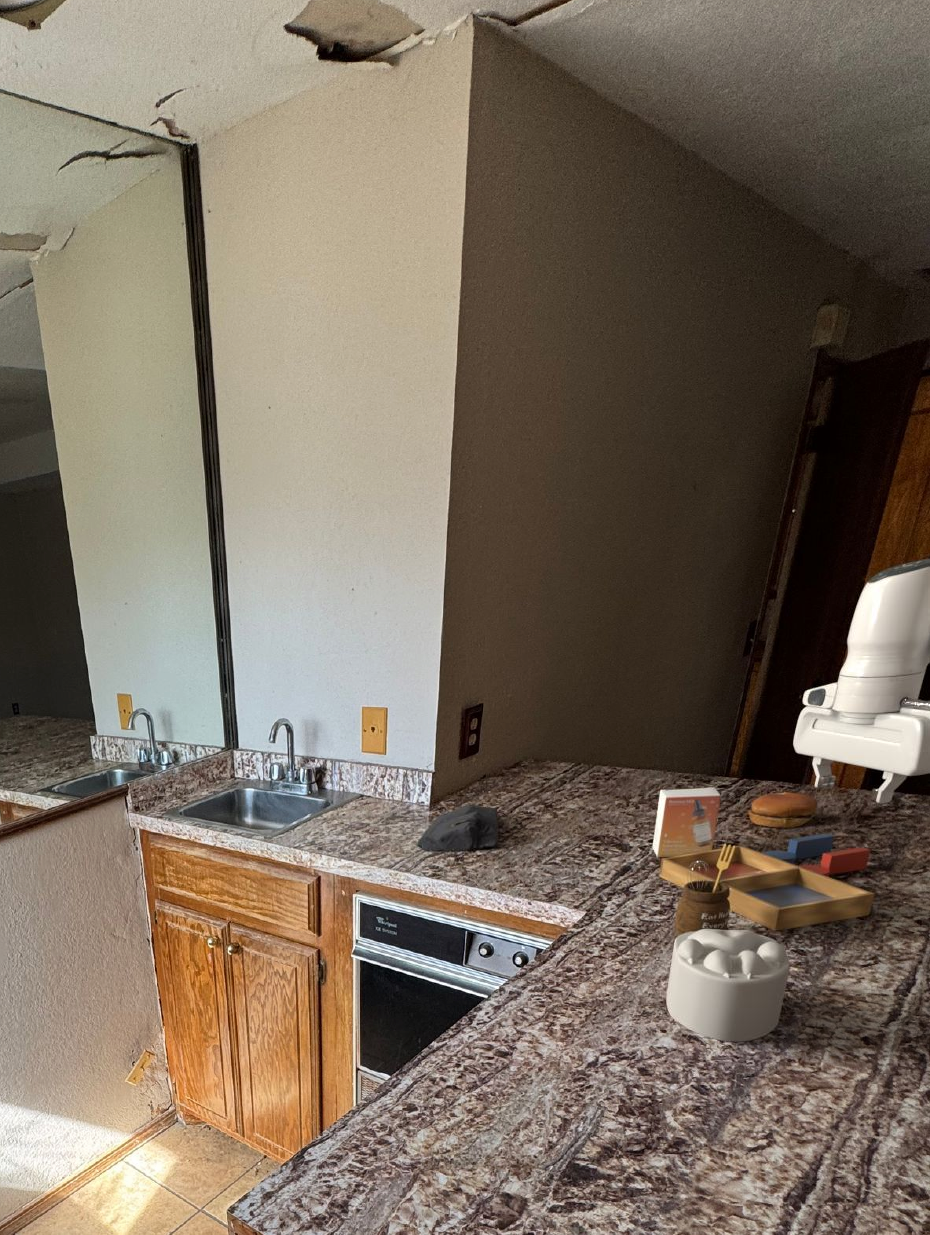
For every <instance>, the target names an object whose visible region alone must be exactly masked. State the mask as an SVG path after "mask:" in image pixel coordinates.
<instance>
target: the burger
mask: <svg viewBox="0 0 930 1235" xmlns="http://www.w3.org/2000/svg"><path fill="white" fill-rule="evenodd" d="M817 808H818V801H817V800H816V798H815V797H813V796H811V795H808V794H802V793H795V792H788V791H784V792H778V791H777V792H772V793H767V794H764V795H760V796H759V797H757V798H756V799H755V800H754V801H753V802H752V804H751V808H750V809H748V811H747V814H748V817H749V819H750V821H751V822H752V823H753V824H755V825H758V826H760V827H761V826H762V827H770V828H777V829H778V828H779V829H783V828H784V829H793V828H798V827H801V826H803V825H804V824H806V823H807V822H809V821H810V820H812V819H813V818H814V817H815V815H816V812H817Z"/></svg>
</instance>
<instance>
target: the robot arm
mask: <svg viewBox="0 0 930 1235" xmlns="http://www.w3.org/2000/svg"><path fill="white" fill-rule="evenodd" d="M847 635H848V636H847V639H846V644H847V655H846V659H845V661H844V663H843V665H842V667H841V669H840V671H839V675H838V679H837V681H836V682H832V683H829V684H824V685H821V686H818V687H813V688H810V689H807V690H805V691H804V693H803V697H802V704H803V705H804V706H805V707H803V709H802V710H801V711H800V714H799V715H798V719H797V722H796V727H795V731H794V734H793V741H792V742H793V743H792V745H793V748H794V751H795V753H797V754H798V755H803V756H809V757H813V758H812V768H813V770H814V774H815V777H816V778H815V782H814V788H815V789H816V788H817V789H820V790H829V789H832V788H834V787H835V782H836V779H837V776H836V775H833V774H832V767H831V766H832V765H831V764H833V763H835V762H837V763H842V764H847V765H848V764H849V765H853V766H857V767H863V768H867V769H872V770H877V771H883V774H882V779H883V780H884V781H883V783H882V784H881V785H880V786H879V788H873V789H872V790H871V796H870V798H869V800H870V801H871V802H872V803H876V804H887V803H890V802H891V801H892V799H893V796H894V792H895V791H896V789H897V788H898V787H899V786H900V785H902V784H903V782H904V781H905V780H906V779H907V777H914V776H915V777H916V776H922V775H927V774H930V700H922V699H919V697H920V691H921V689H922V685H923V680H924V677H925V674H926V670H927V666H928V665H929V664H930V558H924V559H920V560H914V561H909V562H906V563H901V564H898V565H894V566H892V567H888V568H886V569H884V570H882V571H880V572H878V573H876V574H875V575H873V576H872V577H871V578H870V579H869V580H868V581H867V582H866V584H865V585H864V587H863V588H862V591H861V593H860V595H859V599H858V601H857V604H856V607H855V609H854V613H853V617H852V619H851V623H850V626H849V630H848V634H847Z"/></svg>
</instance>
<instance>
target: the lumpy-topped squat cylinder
mask: <svg viewBox="0 0 930 1235" xmlns="http://www.w3.org/2000/svg"><path fill="white" fill-rule="evenodd" d="M670 963H671V964H670V970H669V976H668V982H667V983H668V984H667V990H666V999H665V1000H666V1009H667V1011H668V1014H669V1015H670V1017H671V1018H672V1019H673V1020H674V1021H676V1022H677V1023H679V1024H680V1025H682V1026H683V1027H685V1028H686V1029H688V1030H690V1031H691V1032H694V1033H696V1034H698V1035H701V1036H704V1037H707V1038H709V1039H710V1038H711V1039H714V1040H717V1041H723V1042H733V1043H734V1042H735V1043H737V1042H747V1041H753V1040H757V1039H760V1038H763V1037H765V1036H766V1035H768V1034H770V1033H771V1032H772V1031H773V1030H774V1029H775V1028H776V1027H777V1026H778V1024H779V1020H780V1015H781V1011H782V1007H783V1002H784V997H785V993H786V988H787V984H788V979H789V975H790V969H791V964H790V959H789V956H788V954H787V950H786V948H785V946H783V944H781V943H779V942H778V941H776V940H775V939H774V938H771V937H768V936H765V935H762V934H758V933H756V932H754V931H753V930H749V929H726V930H718V929H702V930H699V931H697V932H688V933H684V934H682V935H680V936H677V937H676V938H675V939H674V943H673V949H672V956H671V962H670Z"/></svg>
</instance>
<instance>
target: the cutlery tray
mask: <svg viewBox="0 0 930 1235" xmlns="http://www.w3.org/2000/svg"><path fill="white" fill-rule="evenodd" d="M735 846H736V848H735V851H734V854H733V857H732V861H731V864H730V867H729V868H728V869H726V870H724V871H723V873H722V876H721V879H720V881H719V882H721V883H724V884H726V885H727V886H728V887H729V890H730V895H729V897H728V898H727V899H728V900H729V902H730V911H731V912H733V913H735V914H738V915H739V916H742V917H744V918H746V919H748V920H750V921H752V922H755V923H756V924H759V925H761V926H763V927H765V928H767V929H770V930H771V931H773V932H776V931H783V930H790V929H796V928H802V927H807V926H813V925H819V924H824V923H830V922H836V921H837V922H838V921H843V920H848V919H854V918H860V917H861V918H862V917H866V916H870V913H871V909H872V905H873V902H874V898H875V893H874V892H871V891H868V890H865V889H863V888H860V887H857V886H854V885H852V884H848V883H847V882H843V881H841V880H838V879H834V878H832V877H830V876H829V877H827V876H824V875H821V874H819V873H816V872H813V871H810V870H807V869H805V868H802V867H799V866H800V865H796V864H794V863H793V864H791V863H788V862H785V861H782V860H780V859H777V858H774V857H771V856H769V855H766V854H763V853H764V852H760V851H757V850H754V849H752V848H749V847H747V846H744V845H735ZM732 848H733V846H731V848H730V852H729V855H728V858H727V862H728V859H729V857H730V854H731V851H732ZM722 849H723V847H722V848H715V849H712V850H710V851H704V852H698V853H692V854H686V855H680V856H675V857H662V858H661V859H660V860H661V861H660V868H659V875H658V877H659V878H661V879H663V880H666V881H667V882H669V883H671V884H674V885H676V886H678V887H680V888H682V889H683V888H684V886H685V884H687V883H688V881H689V882H693V881H699V868H700V881H701V880H706V870H707V881H716V880H717V877H718V874H719V871H720V869H719V868H718V867H717V863H718V860H719V857H720V854H721V852H722ZM727 849H728V847H726V849H725V852H724V855H723V858H722V861H723V860H724V857H725V854H726V851H727ZM694 861H702V862H701V863H700V862H699V863H698V862H695V863H694ZM692 862H693V864H692V865H691V863H692ZM704 862H705V867H706V868H705V867H704V865H703V864H704ZM702 863H703V864H702ZM690 865H691V867H689V866H690ZM694 865H695V866H694ZM708 867H709V870H708ZM688 868H689V869H688ZM692 869H693V870H692ZM704 874H705V877H704ZM708 876H709V879H708ZM691 877H692V881H691V880H690V878H691Z"/></svg>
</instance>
